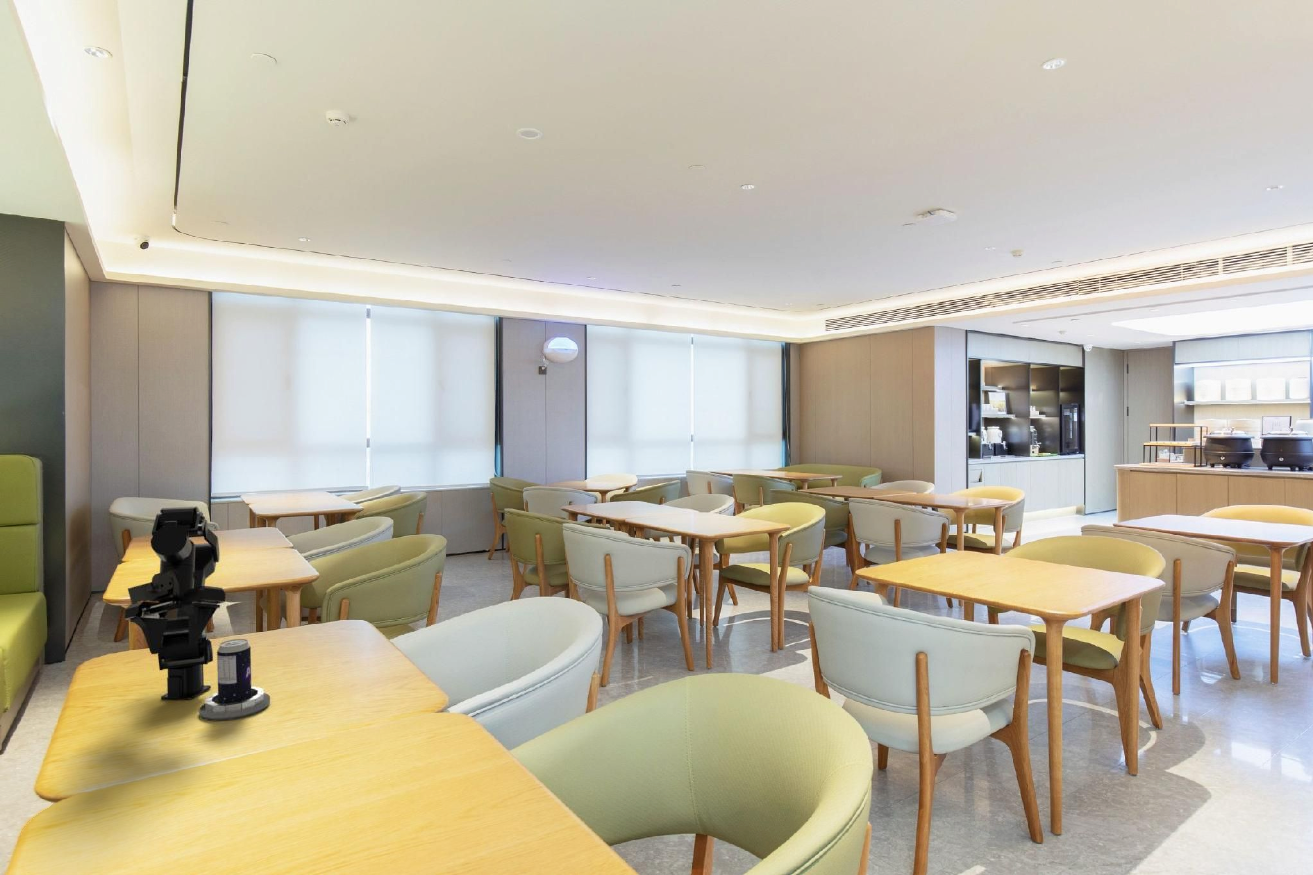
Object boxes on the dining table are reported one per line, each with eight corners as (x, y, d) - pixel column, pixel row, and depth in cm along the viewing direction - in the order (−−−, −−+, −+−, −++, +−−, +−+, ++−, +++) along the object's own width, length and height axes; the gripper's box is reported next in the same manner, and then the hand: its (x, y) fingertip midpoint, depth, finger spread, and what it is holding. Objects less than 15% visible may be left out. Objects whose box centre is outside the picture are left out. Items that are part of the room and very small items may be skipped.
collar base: (225, 696, 149) (225, 684, 149) (282, 696, 148) (282, 684, 148) (184, 720, 137) (184, 707, 137) (246, 721, 136) (246, 708, 136)
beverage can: (252, 705, 142) (250, 644, 141) (218, 711, 139) (216, 648, 138) (251, 695, 147) (249, 636, 146) (218, 701, 144) (216, 641, 143)
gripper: (100, 574, 138) (93, 658, 133) (178, 552, 134) (174, 638, 129) (154, 580, 148) (149, 658, 143) (228, 559, 144) (226, 639, 139)
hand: (173, 649), depth 138 cm, fingers open, 9 cm apart
